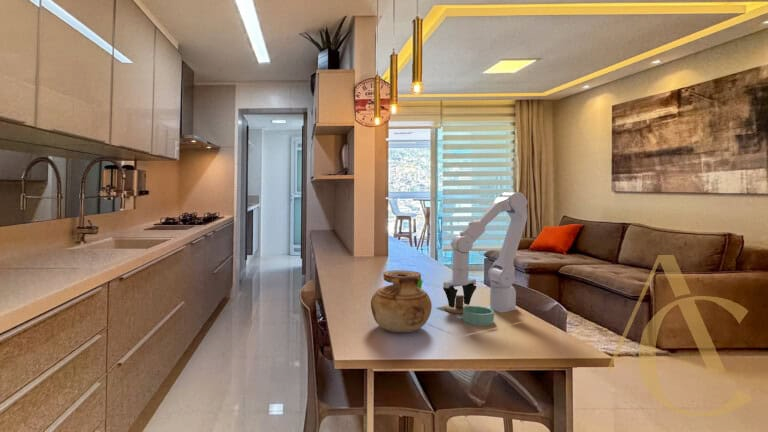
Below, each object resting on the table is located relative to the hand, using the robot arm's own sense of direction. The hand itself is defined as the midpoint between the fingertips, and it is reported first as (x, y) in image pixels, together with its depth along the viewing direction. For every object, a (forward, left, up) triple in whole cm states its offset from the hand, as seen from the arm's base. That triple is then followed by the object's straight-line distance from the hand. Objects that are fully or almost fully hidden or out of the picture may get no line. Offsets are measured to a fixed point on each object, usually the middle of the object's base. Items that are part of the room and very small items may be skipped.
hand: (459, 305), depth 151 cm
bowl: (+4, +13, -2) cm, 14 cm away
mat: (0, 0, -2) cm, 2 cm away
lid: (0, 0, -2) cm, 2 cm away
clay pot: (+31, +6, -2) cm, 31 cm away
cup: (+15, -10, -2) cm, 18 cm away
